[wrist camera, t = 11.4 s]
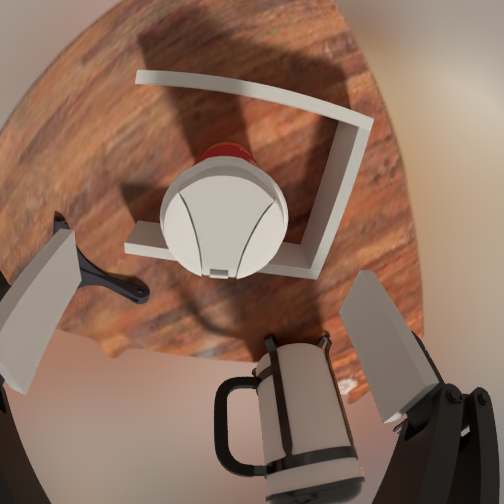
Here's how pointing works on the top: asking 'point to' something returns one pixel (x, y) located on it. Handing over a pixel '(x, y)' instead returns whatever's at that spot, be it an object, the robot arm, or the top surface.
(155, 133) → the top surface
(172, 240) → the paper cup
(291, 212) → the top surface
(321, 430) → the coffee press
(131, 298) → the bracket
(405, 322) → the robot arm
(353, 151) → the box
